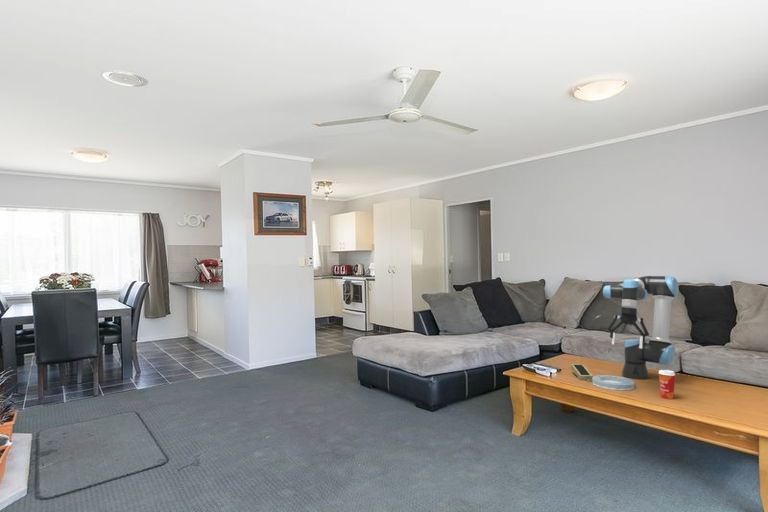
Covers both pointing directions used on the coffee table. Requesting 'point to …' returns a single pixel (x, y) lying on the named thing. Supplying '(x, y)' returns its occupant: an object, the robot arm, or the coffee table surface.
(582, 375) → the box
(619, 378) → the ring tray
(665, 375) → the paper cup
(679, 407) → the coffee table surface
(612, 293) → the robot arm
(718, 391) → the coffee table surface
